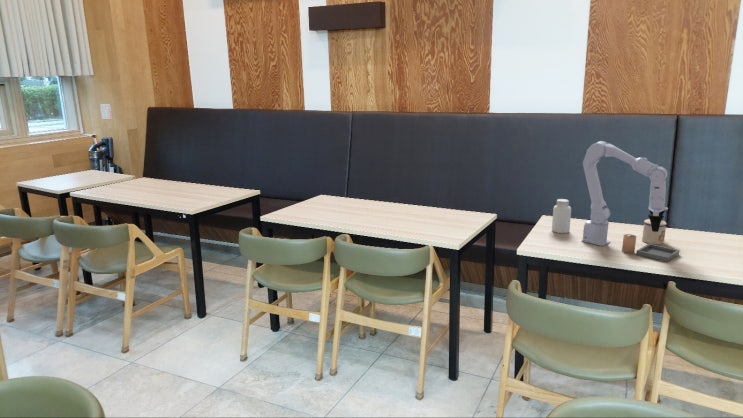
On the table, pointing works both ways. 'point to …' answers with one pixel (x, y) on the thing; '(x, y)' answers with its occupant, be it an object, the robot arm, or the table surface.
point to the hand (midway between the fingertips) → (655, 229)
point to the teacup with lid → (653, 233)
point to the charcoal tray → (657, 252)
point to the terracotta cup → (629, 243)
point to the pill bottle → (561, 216)
